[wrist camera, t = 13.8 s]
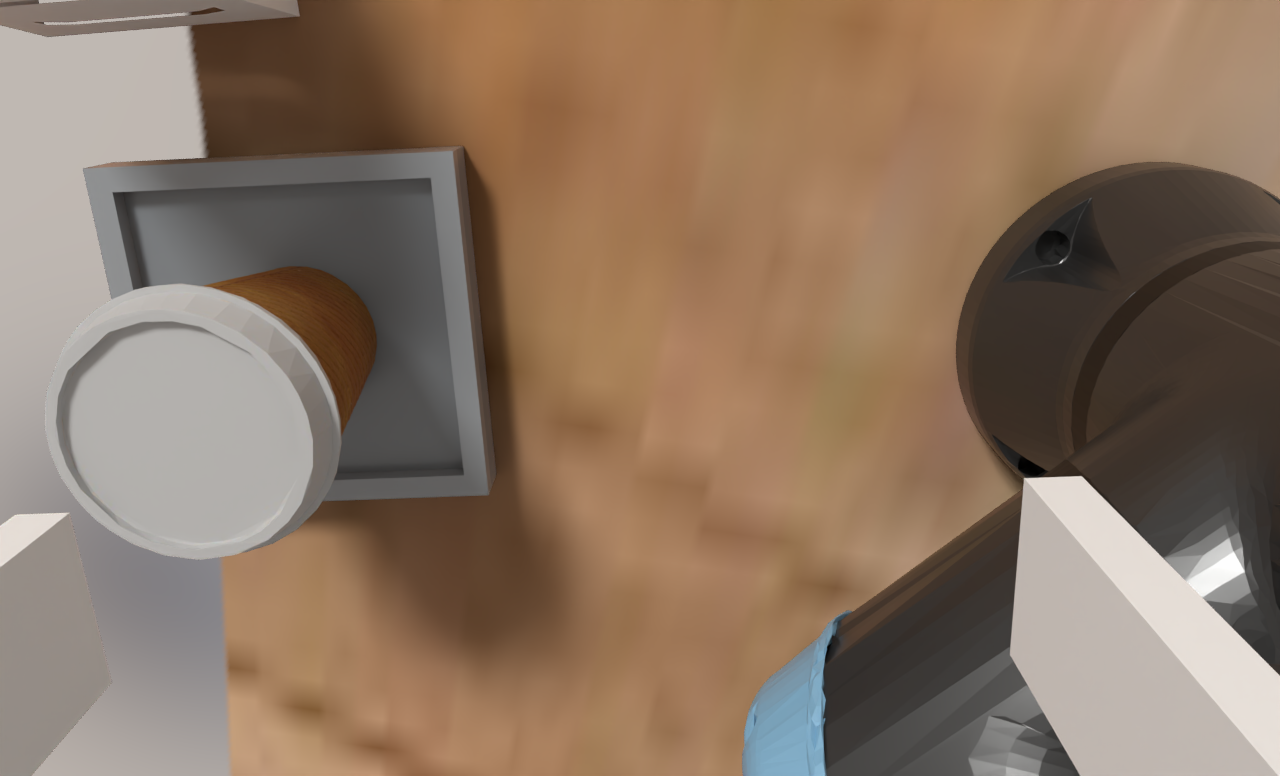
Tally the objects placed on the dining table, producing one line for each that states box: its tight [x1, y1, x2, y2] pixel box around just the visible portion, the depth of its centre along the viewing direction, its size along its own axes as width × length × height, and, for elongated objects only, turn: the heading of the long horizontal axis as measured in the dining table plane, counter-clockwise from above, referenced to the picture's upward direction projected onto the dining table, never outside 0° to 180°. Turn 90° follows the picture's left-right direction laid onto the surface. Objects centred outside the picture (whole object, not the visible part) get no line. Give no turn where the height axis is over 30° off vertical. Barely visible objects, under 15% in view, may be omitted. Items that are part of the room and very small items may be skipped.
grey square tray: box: [83, 146, 496, 501], centre depth 44 cm, size 15×15×2 cm
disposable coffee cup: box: [45, 266, 377, 560], centre depth 38 cm, size 10×10×12 cm
